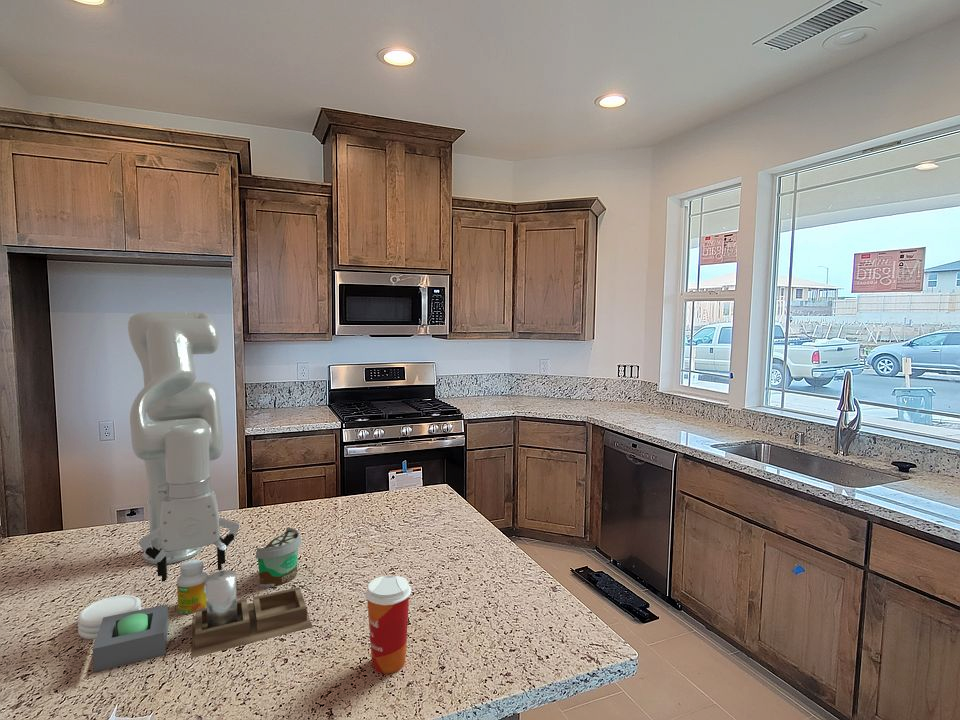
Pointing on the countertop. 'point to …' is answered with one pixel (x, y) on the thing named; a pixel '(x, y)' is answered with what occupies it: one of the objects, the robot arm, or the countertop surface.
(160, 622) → the gray square holder
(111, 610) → the round white lidded container
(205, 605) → the supplement bottle
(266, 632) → the double slot desk organizer
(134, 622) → the button
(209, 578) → the billet
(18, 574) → the countertop surface
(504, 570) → the countertop surface
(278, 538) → the food container
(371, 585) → the paper cup
